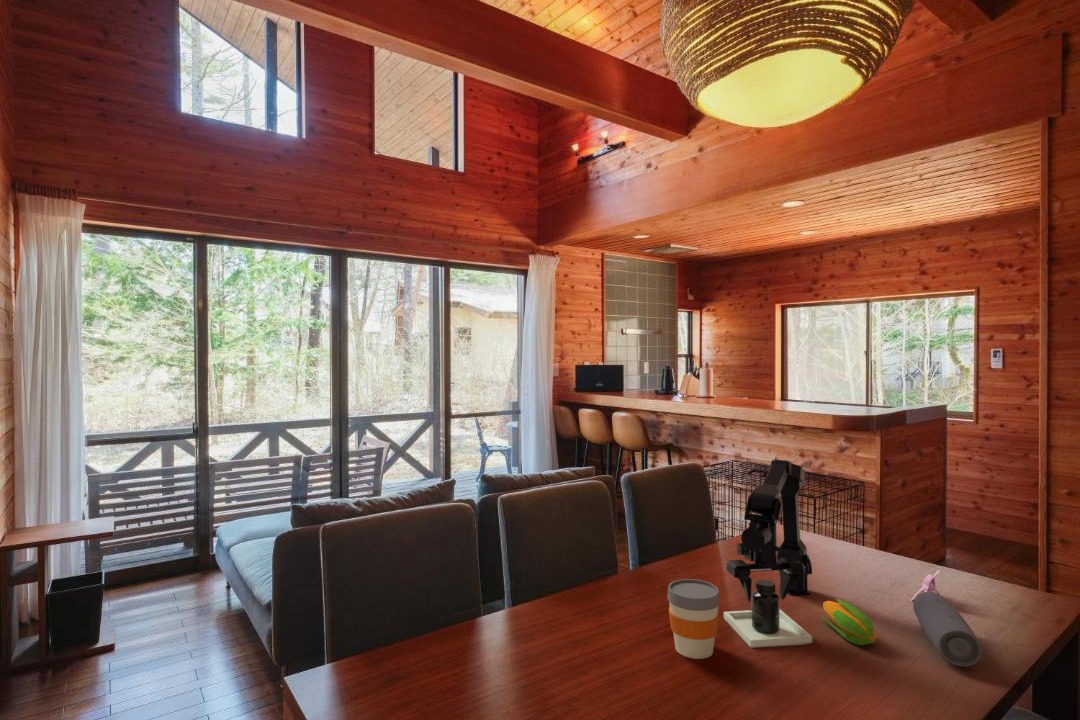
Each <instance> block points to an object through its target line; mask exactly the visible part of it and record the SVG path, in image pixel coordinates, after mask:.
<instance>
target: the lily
mask: <svg viewBox="0 0 1080 720" xmlns="http://www.w3.org/2000/svg"><path fill="white" fill-rule="evenodd" d="M940 571H941V568H940V569H938V570H937V571H936V572H935V573H934V574H933V576H932V574H928V575H926V577H925V578H924V579H923V580H921V583H922V586H921V588H920V589H919V590H918V591H917V592H916V593H915V594H914V595H913V596H912V598H911V600H910V602H912V601H914V600H915V598H916V597H917V596H918V595H919V594H921V593H923V592H935V593H938V594H940V592H939V591H938V590H937V588H936V576H937V575H938V574H939V573H940Z"/></svg>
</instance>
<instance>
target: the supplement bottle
mask: <svg viewBox="0 0 1080 720" xmlns="http://www.w3.org/2000/svg"><path fill="white" fill-rule="evenodd" d="M754 588H755V590H754V591H753V592H751V610H752V627H753V628H754V629H755V630H756V631H758V632H761V633H765V634H774V633H777V632H778V631H779V627H780V617H779V609H780V597H779V595H778V594H777V593H776V584H775V582H774V581H771V580H769V579H757V580H756V581H755V586H754Z"/></svg>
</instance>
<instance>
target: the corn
mask: <svg viewBox="0 0 1080 720" xmlns="http://www.w3.org/2000/svg"><path fill="white" fill-rule="evenodd" d="M822 604H823V605H822V608H823V609H824V611H825V613H826V615H827V617H829V619H830V620H831V621H832V622H833V623H834V624H833V623H832V622H830V621H829V620H828V619H827V618H826V617H824V616H823V615H822V614H821V617H822V619H823V620H824V621H825V622H826V623H827V624H828V625H829V626H830V627H831V628H832V629H833V630H835V631H836V632H837V633H838V634H839V635H840V636H841V637H842V638H844V639H845V640H846V641H848V642H849V643H852V644H853V645H856V646H857V645H858V646H865V645H869V646H870V645H872V644H874V643H875V642H877V640H878V639H877V637H878V635H877V632H876V629H875V628H874V627H875V626H874V624H873V623H872V620H871V618H869V617H868V616H867V615H866V614H864V613H863V612H862V611H861V610H860V609H859V608H857V607H856V606H854V605H852V604H851V603H849V602H846V601H844V600H841V599H838V598H837V599H836V601H832V600H827V601H824V602H823V603H822Z"/></svg>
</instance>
